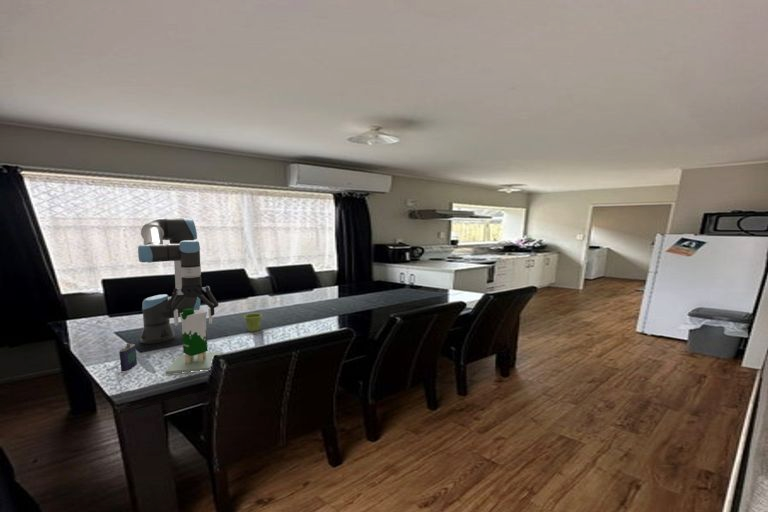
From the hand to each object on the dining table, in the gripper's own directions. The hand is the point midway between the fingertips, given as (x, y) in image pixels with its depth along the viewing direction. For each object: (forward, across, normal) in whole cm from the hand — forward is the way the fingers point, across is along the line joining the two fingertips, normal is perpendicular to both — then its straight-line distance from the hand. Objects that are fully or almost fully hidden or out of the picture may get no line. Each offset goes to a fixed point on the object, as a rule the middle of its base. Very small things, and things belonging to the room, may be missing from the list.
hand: (193, 323), depth 150 cm
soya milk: (+13, 0, 0) cm, 13 cm away
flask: (+19, -27, +3) cm, 33 cm away
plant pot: (+19, +19, +44) cm, 51 cm away
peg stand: (+18, 0, 0) cm, 18 cm away
